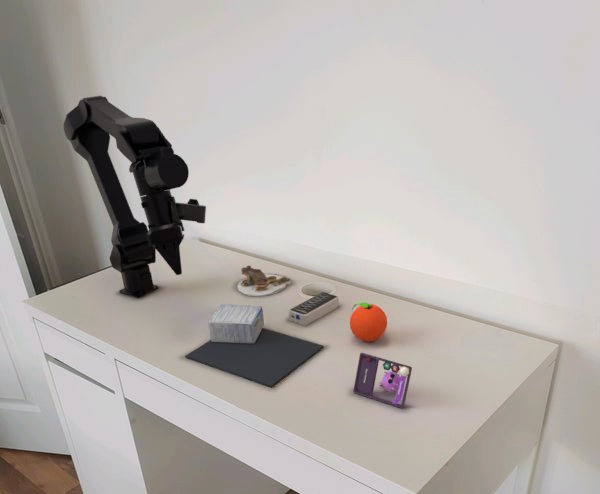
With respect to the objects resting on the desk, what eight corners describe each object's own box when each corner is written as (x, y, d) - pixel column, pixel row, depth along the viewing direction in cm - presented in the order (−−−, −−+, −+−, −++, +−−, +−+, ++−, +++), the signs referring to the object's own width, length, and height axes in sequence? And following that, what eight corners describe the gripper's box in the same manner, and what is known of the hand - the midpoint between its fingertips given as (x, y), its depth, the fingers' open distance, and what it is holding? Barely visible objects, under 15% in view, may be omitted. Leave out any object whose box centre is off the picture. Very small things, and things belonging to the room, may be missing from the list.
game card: (357, 353, 98) (409, 368, 93) (373, 349, 102) (422, 363, 98) (350, 393, 100) (400, 409, 95) (365, 387, 104) (414, 403, 100)
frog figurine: (225, 291, 138) (223, 274, 136) (256, 272, 146) (254, 256, 144) (267, 300, 133) (266, 283, 131) (297, 280, 141) (296, 264, 139)
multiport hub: (339, 306, 128) (339, 296, 127) (305, 326, 122) (304, 315, 120) (323, 301, 131) (322, 291, 130) (288, 320, 124) (287, 309, 123)
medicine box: (210, 342, 117) (254, 345, 115) (207, 321, 114) (252, 323, 113) (222, 323, 123) (264, 325, 122) (220, 303, 121) (263, 305, 119)
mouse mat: (185, 357, 113) (185, 355, 113) (240, 323, 124) (240, 321, 124) (271, 387, 103) (271, 385, 103) (323, 347, 114) (323, 345, 114)
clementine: (338, 336, 117) (337, 302, 113) (365, 325, 121) (365, 291, 117) (367, 352, 112) (367, 316, 108) (394, 339, 115) (395, 305, 111)
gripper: (197, 183, 107) (221, 270, 112) (196, 183, 125) (217, 258, 130) (134, 198, 106) (161, 285, 112) (143, 196, 124) (166, 271, 129)
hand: (179, 274), depth 121 cm, fingers closed
